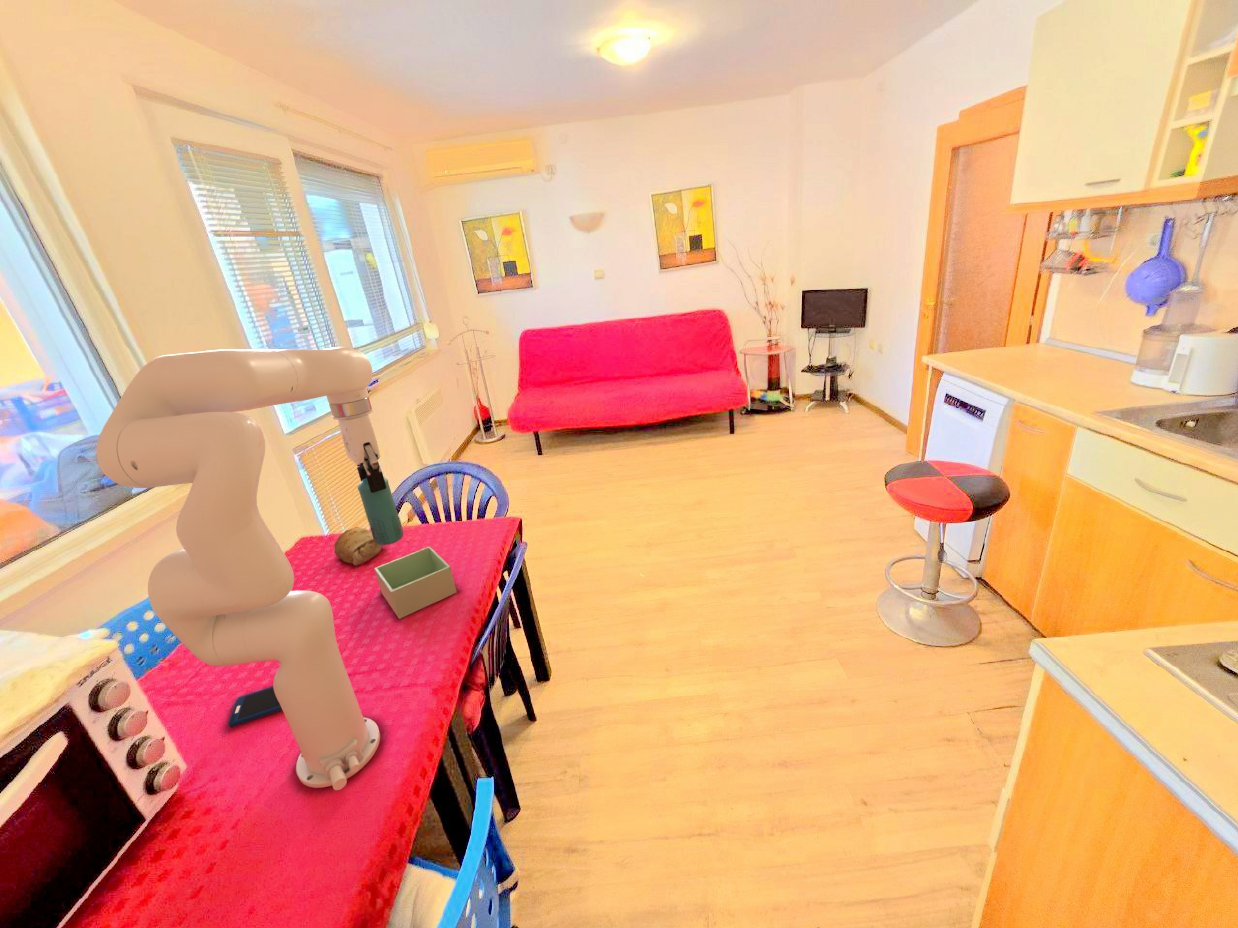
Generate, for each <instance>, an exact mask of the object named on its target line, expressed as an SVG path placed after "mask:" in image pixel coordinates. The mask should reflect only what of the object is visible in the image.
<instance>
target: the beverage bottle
mask: <svg viewBox="0 0 1238 928" xmlns="http://www.w3.org/2000/svg"><path fill="white" fill-rule="evenodd" d="M367 465H368V468H369V465H370V464H367ZM357 467H358V470H357V472H358V471H359V473H358V476H359V478H360V477H362V478H365V479H363V480H362V481H361V480H360V482H359V484H358V485H357V490H358V492H359V496H360V499H361V502H362V506H363V510H364V513H365V516H366V519H367V523H368V527H369V529H370V532H371V533H372V534H373V535H372V537H374V540H375V542H376V544H378V545H381V546H388V545H389V546H390V545H392V544H395V543H397V542H399V541H401V539H403V537H404V529H403V526H402V525H403V524H402V520H401V517H400V515H399V511H398V509H397V508H398V507H397V506H396V502H395V500H394V497H393V493H392V491H391V488H390V487H391V486H390V484H389V479H388V478H386V477H384V480H385V484H386V489H384V490H381V491H378V492H374V493H371V492H370V488H369V485H368V482H367V478H366V476H367V473H366V470H365V468H364V465H361V466H357Z"/></svg>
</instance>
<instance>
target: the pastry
mask: <svg viewBox="0 0 1238 928" xmlns="http://www.w3.org/2000/svg"><path fill="white" fill-rule="evenodd" d="M372 535H373V534H372V531H371V530H369V529H367V528H365V527H360V526H355V527H354V528H350V529H346V530H345V531H343V533H341V534H340V535H339V536H338V537H337V539H336V541H335V542H334V544H333V546H334V547H333V548H334V550H333V551H334V554H335V556H336V557H337V558H338V559H340V560H341V561H342V562H344V563H347V564H351V565H352V564H353V566H355V567H356V566H357V567H358V566H360V565H362V564H365V563H367V562H368V561H370V560H372V559H373V558H375V556H377V555H379V554H380V553H381V551H382V545H378V544H376V542H375V540H374V537H372Z"/></svg>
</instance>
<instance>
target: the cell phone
mask: <svg viewBox="0 0 1238 928" xmlns="http://www.w3.org/2000/svg"><path fill="white" fill-rule="evenodd" d="M281 711H283V710H282V708H281V706H280V703H279V702H278V700H277V697H276V695H275V692H274V688H273V685H272V686H269V687H266V688H262V689H260V690H257V691H253V692H250V693H248V694H247V693H246V694H244V695H242V696H239V697H238V698H237V699H235V702H234V705H233V708H232V711H231V714H230V717H229V720H228V723H227V726H228V727H229V728H234V727H239V726H240V725H243V724H246V723H249V722H252V721H255V720H258V719H260V718H261V719H262V718H265V717H266V716H269V715H272V714H275V713H278V712H281Z"/></svg>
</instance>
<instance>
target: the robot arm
mask: <svg viewBox="0 0 1238 928" xmlns="http://www.w3.org/2000/svg"><path fill="white" fill-rule="evenodd" d="M372 379H373V366H372V364H371V361H370V359H369V358H368V356H367V355H366V354H364V353H363V352H362V351H360V350H359V349H356V348H353V347H352V346H347V345H346V346H345V345H343V346H334V347H333V346H332V347H328V348H327V347H326V348H323V349H302V348H285V349H280V348H279V349H278V348H277V349H276V348H275V349H273V348H272V349H254V348H253V349H252V348H251V349H250V348H249V349H248V348H247V349H244V348H241V349H240V348H239V349H238V348H236V349H235V348H231V349H230V348H229V349H228V348H227V349H225V348H224V349H213V350H205V351H195V352H185V353H183V352H182V353H174V354H172V353H171V354H164V355H160V356H156V357H155V358H152V359H151V360H150V361H148V362H147V363H146V364H144V366H143V367H141V369H139V371H138V372H137V373H136V375H134V377H133V378H132V379H131V381H130V383H128V385H127V387H126V389H125V391H123V393H122V395H121V397H120V399H119V401H118V402H117V404H116V405H115V407H114V409H113V411H112V412H111V414H110V415H109V417H108V419H107V420H106V422H105V423H104V425H103V427H102V429H101V431H100V433H99V435H98V439H97V442H96V450H95V451H96V453H95V454H96V461H97V463H98V466H99V468H100V470H101V472H102V473H103V474H104V475H105V477H107V478H108V479H109V480H111V481H112V482H113V483H115V484H117V485H120V486H123V487H128V488H134V489H151V488H161V487H168V486H177V485H184V484H185V485H186V484H191V486H190V489H189V491H188V494H187V496H186V499H185V501H184V503H183V505H182V507H181V509H180V511H179V514H178V516H177V519H176V520H177V521H176V526H175V532H176V537H177V539H178V541H179V543H180V545H181V547H182V548H183V549H179V550H176V551H173V552H171V553H169V554H167V555H166V556H164V557H163V558H161V559H160V560H159V561H158V562H157V563H156V564H155V565H154V567H153V568H152V570H151V572H150V574H149V577H148V582H147V595H148V600H149V604H150V606H151V608H152V611H153V612H154V614H155V615H156V616H157V618H158V619H160V621H161V622H162V624H164V625H165V627H166V628H167V629H168V630H169V631H170V632H171V633H172V634H173V635H174V636H175V637H176V638H177V639H178V640H179V642H181V643H182V644H183V645H184V646H185V648H186V649H188V651H189V652H190V653H191V654H192V655H193V656H194V657H195V658H196V659H198V660H199V661H200V662H203V663H204V664H205V665H208V666H212V667H230V666H237V665H245V664H253V663H260V662H261V663H263V662H271V661H272V662H273V661H274V662H279V664H280V665H279V667H278V669H277V670H276V672H275V674H274V677H273V682H272V686H273V688H274V692H275V695H276V697H277V700H278V702H279V703H280V706H281V708H282V710H281V711H282V712H283V714H284V718H285V720H286V722H287V724H288V726H289V729H290V731H291V733H292V735H293V738H294V740H295V742H296V744H297V747H298V749H299V751H300V754H299V755H298V759H297V760H296V764H295V765H296V766H295V773H296V775H297V777H298V780H299V781H300V782H301V783H302V784H303V785H304V786H306V787H309V788H314V789H319V788H327V787H332V789H333V790H334V791H340V790H342V789H344V788H345V787H346V785H347V783H348V779H349V778H351V777H352V776H354V775H355V774H357V773H358V772H359V771H360V770H362V769H363V768H364V767H365V766H366V765H367V764H368V763H369V762H370V760H371V759H372V758H373V756H374V755H375V753H376V752H377V750H378V748H379V745H380V741H381V731H380V730H379V726H378V724H377V723H376V722H375V721H374V720H373V719H371V718H368V717H365V716H364V715H363V713H362V709H361V706H360V704H359V701H358V698H357V696H356V694H355V691H354V688H353V685H352V682H351V680H350V677H349V674H348V671H347V669H346V666H345V664H344V663H345V662H344V661H343V658H342V655H341V652H340V649H339V645H338V642H337V636H336V631H335V621H334V613H333V607H332V604H331V602H330V600H329V599H328V598H327V596H325V595H324V594H322V593H320V592H318V591H313V590H305V589H304V590H303V589H302V590H293V588H294V585H295V573H294V570H293V567H292V565H291V563H290V561H289V559H288V557H287V555H286V554H285V552H284V550H283V549H282V547H281V546H280V544H279V542H278V541H277V540H276V538H275V536H274V535H273V533H272V531H271V530H270V528H269V527H268V525H267V524H266V522H265V521H264V518H263V517H262V515H261V513H260V511H259V507H258V500H257V499H258V498H257V497H258V490H259V483H260V478H261V473H262V468H263V464H264V459H265V455H266V440H265V435H264V432H263V430H262V428H261V426H260V425H259V423H258V422H257V421H256V420H255V419H254V418H253V417H251V416H249V415H247V414H244V413H240V412H245V411H252V410H256V409H262V408H266V407H271V406H272V407H273V406H279V405H284V404H285V405H286V404H290V403H295V402H303V401H309V400H314V399H317V398H318V399H319V398H321V397H326V399H327V403H328V405H329V409H330V413H331V415H332V418H333V420H337V422H338V427H339V431H340V434H341V438H342V442H343V447H344V450H345V454H346V457H348V459H349V460H350V461H351V462H353V463H354V464H355V465H356V466H357V467H356V470H357V472H358V474H359V471H358V467H359V466H361V465H364V468H365V470H366V473H367V476H366V478H367V482H368V485H369V488H370V492H371V493H374V492H378V491H381V490H384V489H386V484H385V480H384V478H385V477H384V473H383V470H382V468H381V465H380V463H379V460H380V458H381V453H380V447H379V444H378V441H377V437H376V435H375V432H374V431H375V430H374V428H373V423H372V421H371V419H370V416H369V415H370V414H372V413H373V407H372V404H371V401H370V397H369V393H368V390H367V388H368V387H369V386H370V384H371V383H372ZM367 464H370V465H369V468H368V465H367ZM359 479H360V482H361V481H362V480H363V479H365V478H362V477H360V476H359Z"/></svg>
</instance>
